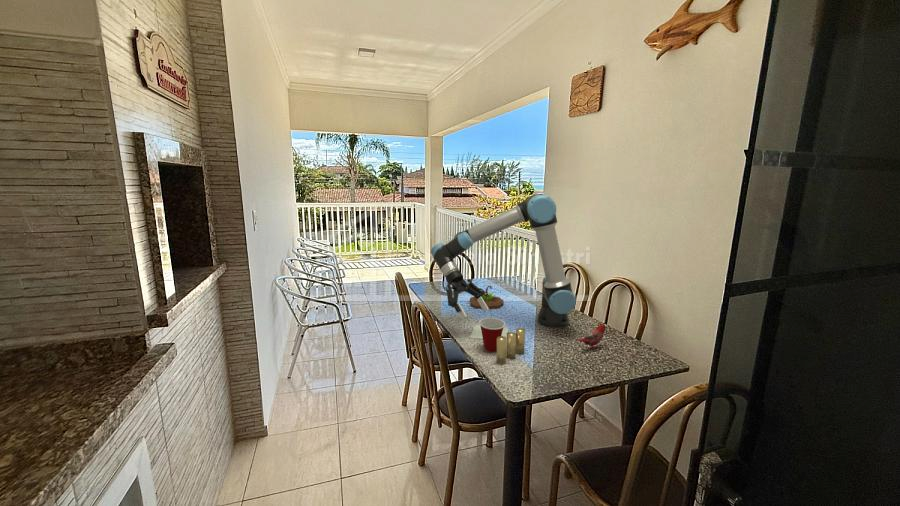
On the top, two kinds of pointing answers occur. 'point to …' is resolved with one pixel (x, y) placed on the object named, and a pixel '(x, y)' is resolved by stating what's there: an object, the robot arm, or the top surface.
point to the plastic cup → (491, 332)
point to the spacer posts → (510, 345)
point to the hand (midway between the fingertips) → (476, 314)
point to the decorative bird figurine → (594, 336)
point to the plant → (487, 301)
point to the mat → (478, 333)
